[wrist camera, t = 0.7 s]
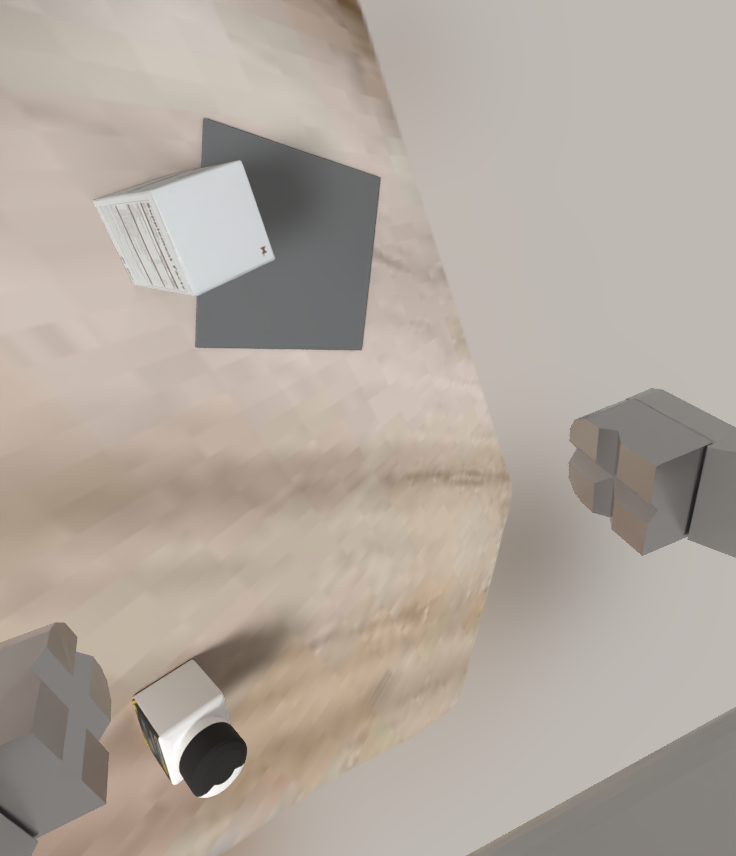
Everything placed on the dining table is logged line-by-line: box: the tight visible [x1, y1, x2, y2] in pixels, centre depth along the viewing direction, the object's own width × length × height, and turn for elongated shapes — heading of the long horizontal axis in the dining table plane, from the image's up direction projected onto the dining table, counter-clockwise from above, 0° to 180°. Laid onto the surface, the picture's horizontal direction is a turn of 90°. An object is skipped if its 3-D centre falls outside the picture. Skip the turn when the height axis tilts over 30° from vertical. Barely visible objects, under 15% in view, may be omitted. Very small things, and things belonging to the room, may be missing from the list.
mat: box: [195, 118, 380, 350], centre depth 57 cm, size 22×20×1 cm
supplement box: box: [93, 160, 275, 296], centre depth 42 cm, size 7×7×13 cm
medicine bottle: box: [132, 660, 247, 798], centre depth 56 cm, size 7×7×12 cm
